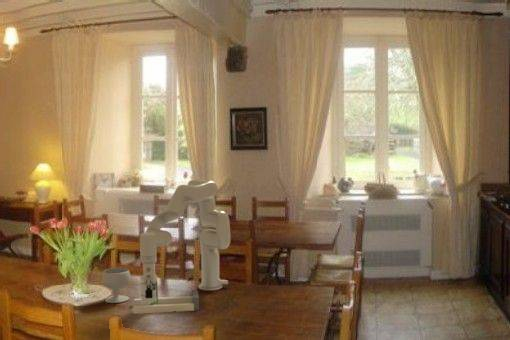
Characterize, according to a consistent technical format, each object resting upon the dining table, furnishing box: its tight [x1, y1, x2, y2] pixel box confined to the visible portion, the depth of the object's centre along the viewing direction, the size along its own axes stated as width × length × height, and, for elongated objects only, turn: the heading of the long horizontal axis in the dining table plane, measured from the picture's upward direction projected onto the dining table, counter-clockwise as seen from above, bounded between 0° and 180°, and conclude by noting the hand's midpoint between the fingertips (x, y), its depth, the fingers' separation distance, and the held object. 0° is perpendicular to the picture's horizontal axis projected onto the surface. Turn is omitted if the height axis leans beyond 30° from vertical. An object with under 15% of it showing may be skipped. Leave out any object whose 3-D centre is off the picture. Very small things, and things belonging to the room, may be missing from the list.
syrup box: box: [139, 273, 159, 306], centre depth 264 cm, size 6×6×14 cm
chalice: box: [101, 267, 132, 304], centre depth 277 cm, size 14×14×15 cm
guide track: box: [132, 289, 200, 315], centre depth 266 cm, size 30×13×6 cm, turn 100°
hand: (149, 295), depth 264 cm, fingers closed on syrup box, 7 cm apart
